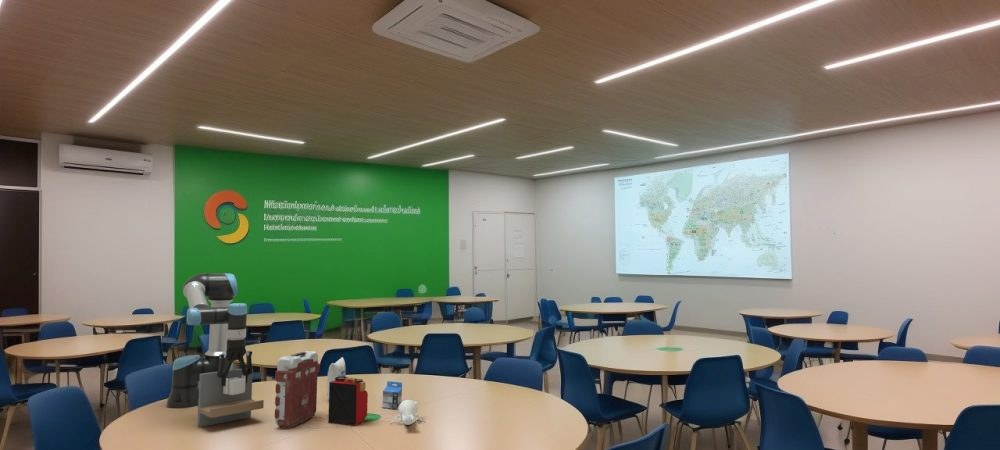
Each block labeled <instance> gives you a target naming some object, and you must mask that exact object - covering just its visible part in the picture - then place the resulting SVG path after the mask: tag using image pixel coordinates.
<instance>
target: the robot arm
mask: <svg viewBox="0 0 1000 450" xmlns="http://www.w3.org/2000/svg"><path fill="white" fill-rule="evenodd" d="M182 293H183V296H184V297H185V298H186V299H187V303H188V309H187V312H186V324H187V325H189V326H205V325H209V339H208V350H207V351H206V352H205V353H204V357H201V356H200V354H191V355H185V356H181V357H177V358H176V359H174V360H173V365H172V378H171V379H172V382H171V391H170V392H169V396H168V398H167V401H166V407H167V408H172V409H173V408H175V409H178V408H179V409H180V408H191V407H195V406H198V400H199V379H200V374H203V373H211V372H218V373H217V377H220V378H222V386H224V387H223V393H224V394H228V378H226V377H227V375H228V372H229V370H233V367H234V362H235V361H237V362H238V363H239V367H240V369H242V372H243V375H242V376H241V378H244V379H245V383H247V379H248V375H249V374H251V373H252V368H253V365H252V356H253V351H252V350H246V343H247V342H246V341H247V339H246V337H247V318H248V317H247V316H248V306H247V304H246V303H245V302H244V303H242V302H240V303H239V302H237V303H232V302H233V301H234V297H236V296H237V295H238V283H237V279H236V276H235V274H233V273H225V272H221V273H219V272H218V273H217V272H216V273H215V272H214V273H205V272H203V273H198V274H194V275H193V276H191V277H189V278H188V279H187V280H186V281H185V282H184V284H183V286H182ZM208 302H209V303H210V306H209V303H208ZM244 356H246V357H245V358H246V359H245V358H244ZM245 360H246V363H245ZM246 368H247V369H246Z"/></svg>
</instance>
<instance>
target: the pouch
mask: <svg viewBox="0 0 1000 450" xmlns="http://www.w3.org/2000/svg"><path fill="white" fill-rule="evenodd" d="M345 361H346V360H345V359H344V357H343V356H342V357H340V359H338V360H337V361H335V363H334V362H332V363H331V364H330V365H329V367H328V370H327V378H326V379H327V381H326V395H327V400H328V401H329V382H331V381H335V378H336V377H342V376H344V377H347V376H346V372H347V369H346V368H347V367H346V362H345Z"/></svg>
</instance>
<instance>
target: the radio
mask: <svg viewBox="0 0 1000 450" xmlns="http://www.w3.org/2000/svg"><path fill="white" fill-rule="evenodd" d="M368 396H369V394H368V391H367V390H366V382H365V381H364V379H362V378H354V377H348V376H345V377H344V376H342V377H336V378H335V381H331V382H329V400H328V420H327V421H328V423H329V424H339V425H345V426H346V425H348V426H359V425H360V423H363V422H365V421H366V418H367V416H368V398H369V397H368Z"/></svg>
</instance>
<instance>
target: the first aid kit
mask: <svg viewBox="0 0 1000 450" xmlns="http://www.w3.org/2000/svg"><path fill="white" fill-rule="evenodd" d="M320 364H321V363H319V355H318V353H317V351H313V350H312V351H311V350H309V351H308V350H305V351H299V352H297V353H293V354H290V355H285V356H281V357H280V358H278V361H277V366H276V367H277V370H275V372H274V373H275V374H274V380H275V381H276V384H275V394H276V396H275V398H274V404H275V409H274V419H275V424H276V425H277V427H280V428H283V429H288V428H289V429H290V428H293V427H295V426H297V425H301V424H303V423H304V422H306V421H308V420H310V419H311V418H314V417H315V415H316V412H317V403H318V402H317V400H318V397H317V396H318V374H319V373H320V370H321V369H320V367H321V365H320Z"/></svg>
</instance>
